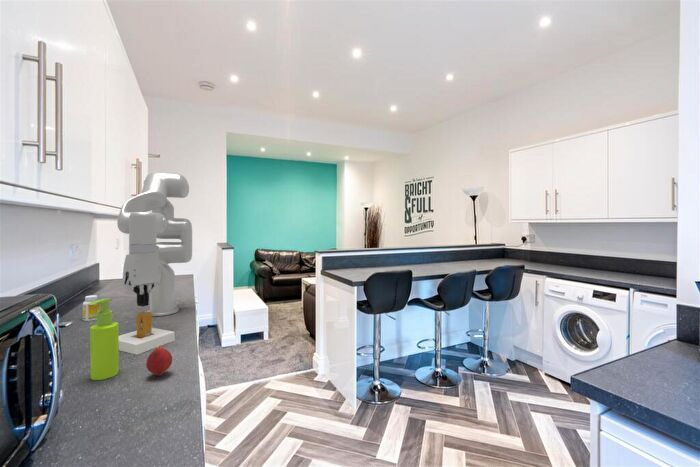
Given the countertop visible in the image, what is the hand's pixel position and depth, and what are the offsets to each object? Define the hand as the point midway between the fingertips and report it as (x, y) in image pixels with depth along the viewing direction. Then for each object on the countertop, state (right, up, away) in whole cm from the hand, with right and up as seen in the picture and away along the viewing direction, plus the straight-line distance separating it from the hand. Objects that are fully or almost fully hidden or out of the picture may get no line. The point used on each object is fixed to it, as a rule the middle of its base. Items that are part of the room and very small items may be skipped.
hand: (142, 305), depth 105 cm
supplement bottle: (-39, -12, +27) cm, 49 cm away
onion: (+18, -14, -21) cm, 31 cm away
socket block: (0, -13, 0) cm, 13 cm away
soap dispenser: (+4, -14, -22) cm, 26 cm away
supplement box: (0, -13, +1) cm, 13 cm away
